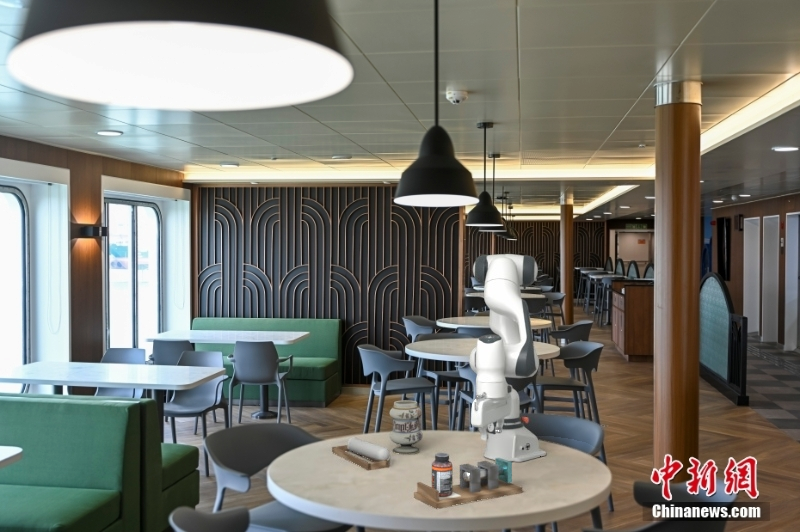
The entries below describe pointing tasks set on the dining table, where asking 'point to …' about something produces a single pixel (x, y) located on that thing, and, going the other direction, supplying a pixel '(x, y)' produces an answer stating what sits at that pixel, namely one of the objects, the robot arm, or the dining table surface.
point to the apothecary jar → (406, 426)
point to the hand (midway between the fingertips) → (491, 436)
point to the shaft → (503, 471)
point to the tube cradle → (368, 466)
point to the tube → (368, 449)
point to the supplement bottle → (442, 474)
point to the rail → (468, 487)
